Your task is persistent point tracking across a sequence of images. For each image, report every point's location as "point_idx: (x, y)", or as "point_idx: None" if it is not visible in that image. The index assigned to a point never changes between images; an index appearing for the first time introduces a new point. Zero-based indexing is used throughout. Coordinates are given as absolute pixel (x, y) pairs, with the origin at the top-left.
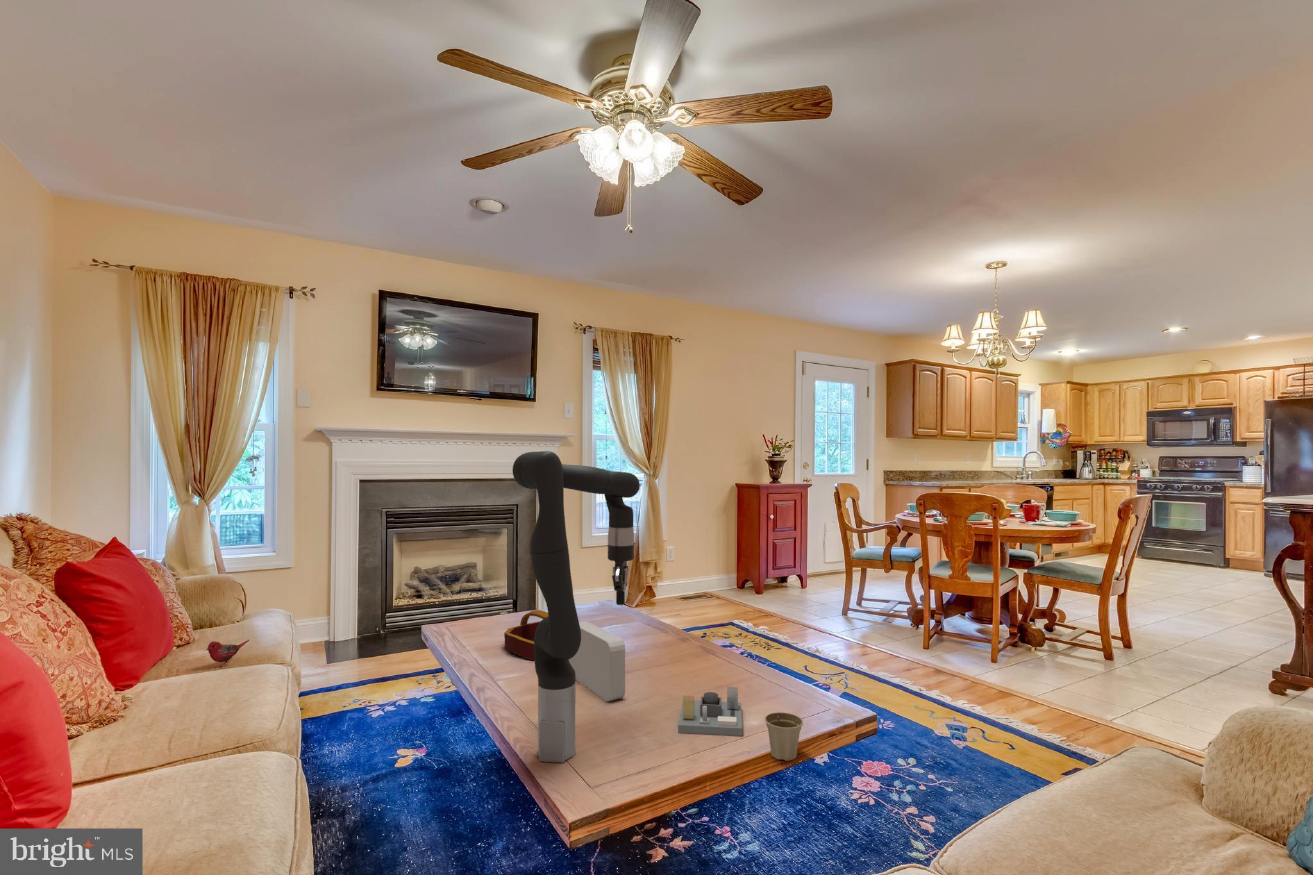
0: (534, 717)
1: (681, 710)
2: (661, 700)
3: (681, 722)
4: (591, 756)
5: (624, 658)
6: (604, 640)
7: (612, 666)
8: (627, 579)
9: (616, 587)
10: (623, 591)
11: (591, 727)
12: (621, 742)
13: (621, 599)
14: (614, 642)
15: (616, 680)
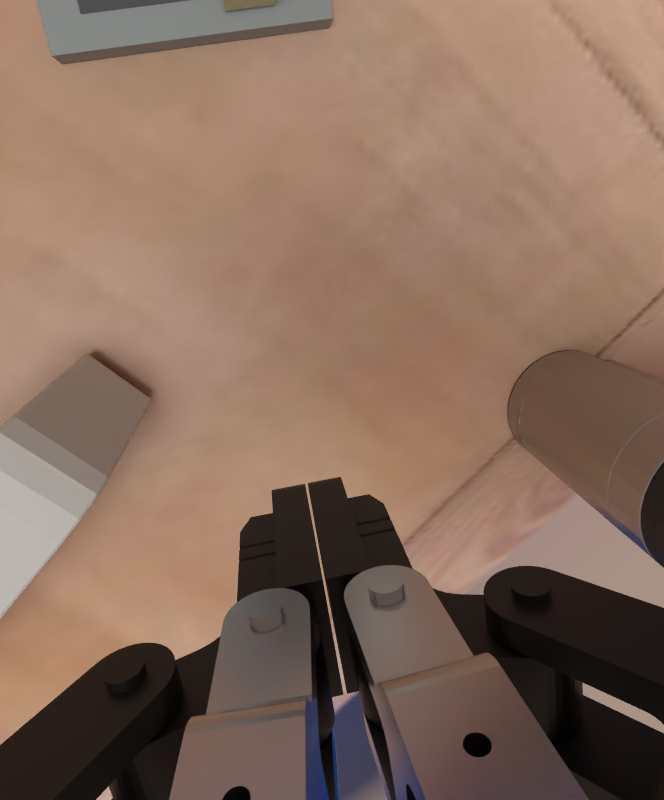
0: None
1: (178, 35)
2: (33, 188)
3: (304, 7)
4: (562, 295)
5: (39, 401)
6: (51, 556)
7: (114, 436)
8: (195, 747)
9: (579, 712)
10: (406, 574)
11: (371, 376)
12: (455, 232)
13: (389, 527)
14: (40, 491)
15: (111, 398)
